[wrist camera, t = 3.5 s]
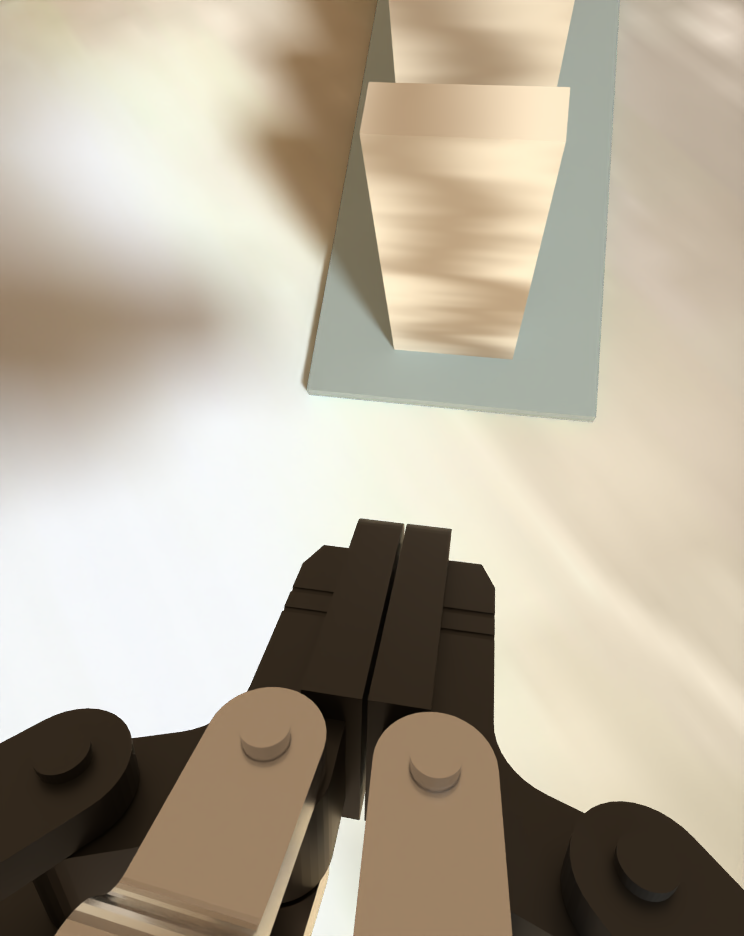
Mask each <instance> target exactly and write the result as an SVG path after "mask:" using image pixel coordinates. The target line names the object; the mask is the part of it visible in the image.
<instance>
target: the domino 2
mask: <svg viewBox="0 0 744 936" xmlns="http://www.w3.org/2000/svg"><path fill="white" fill-rule="evenodd" d="M569 97H570V87H544V86H505V85H466V84H427V83H388V82H369V83H368V89H367V95H366V100H365V106H364V111H363V117H362V123H361V128H360V140H361V146H362V152H363V159H364V165H365V171H366V177H367V183H368V190H369V196H370V202H371V208H372V214H373V221H374V227H375V233H376V239H377V245H378V252H379V258H380V264H381V270H382V276H383V283H384V289H385V295H386V301H387V307H388V314H389V320H390V326H391V332H392V338H393V345H394V350H406V351H417V352H429V353H441V354H453V355H464V356H476V357H488V358H500V359H511V360H512V359H513V355H514V351H515V347H516V343H517V339H518V335H519V331H520V327H521V323H522V319H523V314H524V310H525V306H526V302H527V298H528V294H529V290H530V286H531V282H532V278H533V274H534V270H535V266H536V262H537V257H538V253H539V249H540V245H541V241H542V237H543V233H544V229H545V225H546V221H547V217H548V213H549V209H550V205H551V200H552V196H553V192H554V188H555V184H556V180H557V176H558V172H559V168H560V164H561V160H562V156H563V152H564V147H565V143H566V135H567V122H568V110H569Z"/></svg>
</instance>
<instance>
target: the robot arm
mask: <svg viewBox="0 0 744 936" xmlns="http://www.w3.org/2000/svg"><path fill="white" fill-rule="evenodd" d="M451 531H452V529H446V528H438V527H430V526H421V525H413V524H407V526H406V530H405V535H404V524H403V523H394V522H386V521H377V520H369V519H359V521H358V523H357V526H356V529H355V532H354V535H353V538H352V540H351V543H350V546H349V548H343V547H335V546H327V545H323V546H322V547H321V548H320V549H319V550H318V551H317V552H315V553H314V554H313V555H312V556H311V557H310V558H308V559H307V560H306V561H305V562H304V563H303V564H302V567H301V569H300V571H299V574H298V576H297V578H296V580H295V583H294V585H293V590H292V591H291V592H290V594H289V597H288V599H287V601H286V604H285V608H284V611H282V613H281V615H280V618H279V620H278V622H277V625H276V627H275V629H274V632H273V634H272V636H271V639H270V641H269V643H268V646H267V648H266V650H265V653H264V655H263V657H262V659H261V662H260V664H259V666H258V669H257V671H256V673H255V676H254V678H253V680H252V683H251V685H250V687H249V689H248V691H247V692H245V693H243V694H241V695H238V696H237V697H235V698H233V699H232V700H230V701H229V702H228V703H226V704H225V705H224V706H223V707H222V708H221V709H220V710H219V711H218V712H217V713H216V714H215V716H214V717H213V719H212V720H211V722H210V723H209V724H207V725H205V726H202V727H199V728H196V729H193V730H188V731H183V732H177V733H169V734H162V735H154V736H146V737H139V738H131V734H130V731H129V729H128V727H127V725H126V724H125V723H124V722H123V721H122V719H120V718H119V717H117V716H116V715H115V714H112V713H110V712H108V711H104V710H100V709H89V708H86V709H76V710H71V711H66V712H63V713H60V714H57V715H54V716H52V717H50V718H48V719H46V720H44V721H42V722H40V723H38V724H36V725H34V726H32V727H30V728H28V729H27V730H25V731H23V732H21V733H19V734H17V735H15V736H13V737H11V738H10V739H8V740H6V741H4V742H2V743H0V936H311V934H312V931H313V928H314V924H315V921H316V918H317V914H318V911H319V907H320V904H321V901H322V897H323V894H324V891H325V887H326V884H327V880H328V875H329V865H330V862H331V859H332V856H333V851H334V847H335V842H336V838H337V833H338V829H339V824H340V820H341V817H346V818H351V819H357V820H360V815H361V810H362V805H363V799H364V794H365V821H366V825H365V834H364V843H363V852H362V861H361V871H360V880H359V889H358V898H357V907H356V916H355V926H354V935H353V936H744V890H743V889H742V888H741V887H740V885H739V884H738V883H737V882H736V881H735V880H734V879H733V878H732V877H731V876H730V875H729V874H728V873H727V872H726V871H725V870H724V869H723V868H722V867H721V866H720V865H719V864H718V863H717V862H716V860H715V859H714V858H713V857H712V856H711V855H710V854H709V853H708V852H707V851H706V850H705V849H704V848H703V847H702V846H701V845H700V844H699V843H698V842H697V841H696V840H695V839H694V838H693V837H692V836H691V835H690V834H689V833H688V832H687V831H686V830H685V829H684V828H683V827H682V826H680V825H679V824H677V823H676V822H675V821H673V820H672V819H671V818H669V817H667V816H666V815H664V814H662V813H660V812H659V811H656V810H654V809H652V808H649V807H647V806H644V805H640V804H636V803H631V802H623V801H619V802H608V803H604V804H600V805H598V806H595V807H593V808H591V809H590V810H589V811H587V812H586V813H583V812H581V811H579V810H577V809H575V808H573V807H571V806H569V805H567V804H564V803H562V802H560V801H558V800H556V799H554V798H552V797H550V796H548V795H546V794H544V793H543V792H541V791H539V790H537V789H536V788H534V787H533V786H531V785H530V784H529V783H527V782H526V781H525V780H523V779H522V778H521V777H520V776H519V775H518V774H517V773H516V772H515V771H514V770H513V769H512V767H511V766H510V765H509V764H508V763H507V761H506V759H505V758H504V756H503V755H502V753H501V751H500V749H499V746H498V744H497V741H496V737H495V733H494V635H495V619H494V615H495V587H494V585H493V584H492V582H491V580H490V578H489V577H488V575H487V573H486V571H485V570H484V568H483V566H482V565H481V564H473V563H465V562H457V561H449V550H450V541H451Z"/></svg>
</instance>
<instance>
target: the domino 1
mask: <svg viewBox="0 0 744 936" xmlns="http://www.w3.org/2000/svg"><path fill="white" fill-rule="evenodd" d="M574 1H575V0H389V10H390V22H391V34H392V47H393V59H394V71H395V83H427V84H466V85H505V86H544V87H557V84H558V79H559V75H560V70H561V65H562V60H563V55H564V50H565V45H566V40H567V36H568V31H569V26H570V21H571V16H572V11H573V6H574Z"/></svg>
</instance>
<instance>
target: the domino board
mask: <svg viewBox="0 0 744 936" xmlns="http://www.w3.org/2000/svg"><path fill="white" fill-rule="evenodd" d="M619 7H620V0H575V1H574V6H573V11H572V16H571V21H570V26H569V31H568V36H567V40H566V45H565V50H564V55H563V60H562V65H561V70H560V75H559V79H558V84H557V87H570V97H569V110H568V122H567V135H566V143H565V147H564V152H563V156H562V160H561V164H560V168H559V172H558V176H557V180H556V184H555V188H554V192H553V196H552V200H551V205H550V209H549V213H548V217H547V221H546V225H545V229H544V233H543V237H542V241H541V245H540V249H539V253H538V257H537V262H536V266H535V270H534V274H533V278H532V282H531V286H530V290H529V294H528V298H527V302H526V306H525V310H524V314H523V319H522V323H521V327H520V331H519V335H518V339H517V343H516V347H515V351H514V355H513V359H512V360H511V359H500V358H488V357H476V356H464V355H453V354H441V353H429V352H417V351H406V350H394V345H393V338H392V332H391V326H390V320H389V314H388V307H387V301H386V295H385V289H384V283H383V276H382V270H381V264H380V258H379V252H378V245H377V239H376V233H375V227H374V221H373V214H372V208H371V202H370V196H369V190H368V183H367V177H366V171H365V165H364V159H363V152H362V146H361V140H360V128H361V123H362V117H363V111H364V106H365V100H366V95H367V89H368V83H369V82H388V83H395V71H394V59H393V47H392V34H391V22H390V10H389V0H378V1H377V6H376V12H375V17H374V23H373V28H372V34H371V39H370V45H369V50H368V56H367V61H366V67H365V72H364V78H363V83H362V89H361V94H360V100H359V105H358V111H357V116H356V122H355V127H354V133H353V138H352V143H351V149H350V154H349V160H348V165H347V171H346V176H345V182H344V187H343V193H342V198H341V204H340V209H339V215H338V220H337V226H336V231H335V237H334V242H333V248H332V253H331V259H330V264H329V270H328V275H327V281H326V286H325V291H324V297H323V302H322V308H321V313H320V319H319V324H318V330H317V335H316V341H315V346H314V352H313V357H312V363H311V368H310V374H309V379H308V385H307V391H308V393H309V395H318V396H328V397H338V398H349V399H359V400H369V401H380V402H390V403H400V404H411V405H421V406H431V407H442V408H452V409H462V410H473V411H483V412H493V413H504V414H514V415H524V416H535V417H545V418H555V419H566V420H576V421H586V422H593V421H594V419H595V418H596V408H597V391H598V374H599V356H600V339H601V321H602V304H603V286H604V269H605V252H606V234H607V217H608V199H609V182H610V164H611V147H612V129H613V112H614V95H615V77H616V60H617V42H618V25H619Z"/></svg>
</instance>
